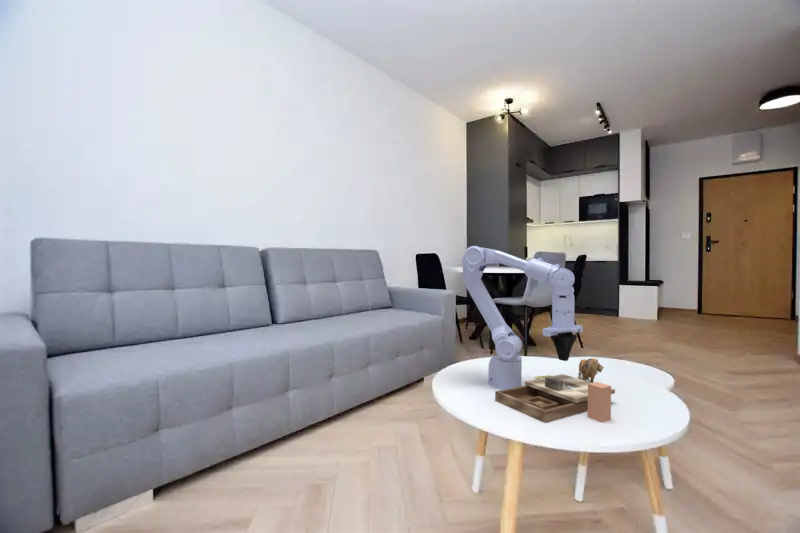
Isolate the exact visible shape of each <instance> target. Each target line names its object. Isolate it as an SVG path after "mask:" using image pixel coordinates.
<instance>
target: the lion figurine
mask: <svg viewBox="0 0 800 533" xmlns="http://www.w3.org/2000/svg"><path fill="white" fill-rule="evenodd" d="M598 360H599V359H598V358H594V357H592V358H588V359H581V360H580V361H579V364H578V377H577V378H578V379H581V380H584V381H587V380H588V379H590V381H589V382H591V383H594V381H595V377H596V376H597V375H598V373H602V371H603V370H604V369H605V367H604V366H603V365H601V364H600V362H599V361H598Z"/></svg>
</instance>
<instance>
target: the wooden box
mask: <svg viewBox="0 0 800 533" xmlns="http://www.w3.org/2000/svg"><path fill="white" fill-rule="evenodd" d="M494 393H495V395H494V397H495V398H494V401H495V402H498V403H500V404H501V405H504V406H506V407H508V408H510V409H512V410H515V411H517V412H520V413H522V414H525V415H526V416H529V417H531V418H533V419H535V420H538V421H540V422H542V423H544V424H545V423H551V422H554V421H557V420H562V419H566V418H568V417H569V418H570V417H572V416H575V415H580V414H583V413H586V412H587V413H588V400H587V401H583V402H579V403H575V402H572V401H569V400H566V399H563V398H561V397H558V396H555V395H552V394H549V393H547V392H544V391H541V390H538V389H535V388H533V387H530V386H527V385H521V387H516V388H511V389H506V390H500V389H499V390H496V391H495V392H494Z"/></svg>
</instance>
